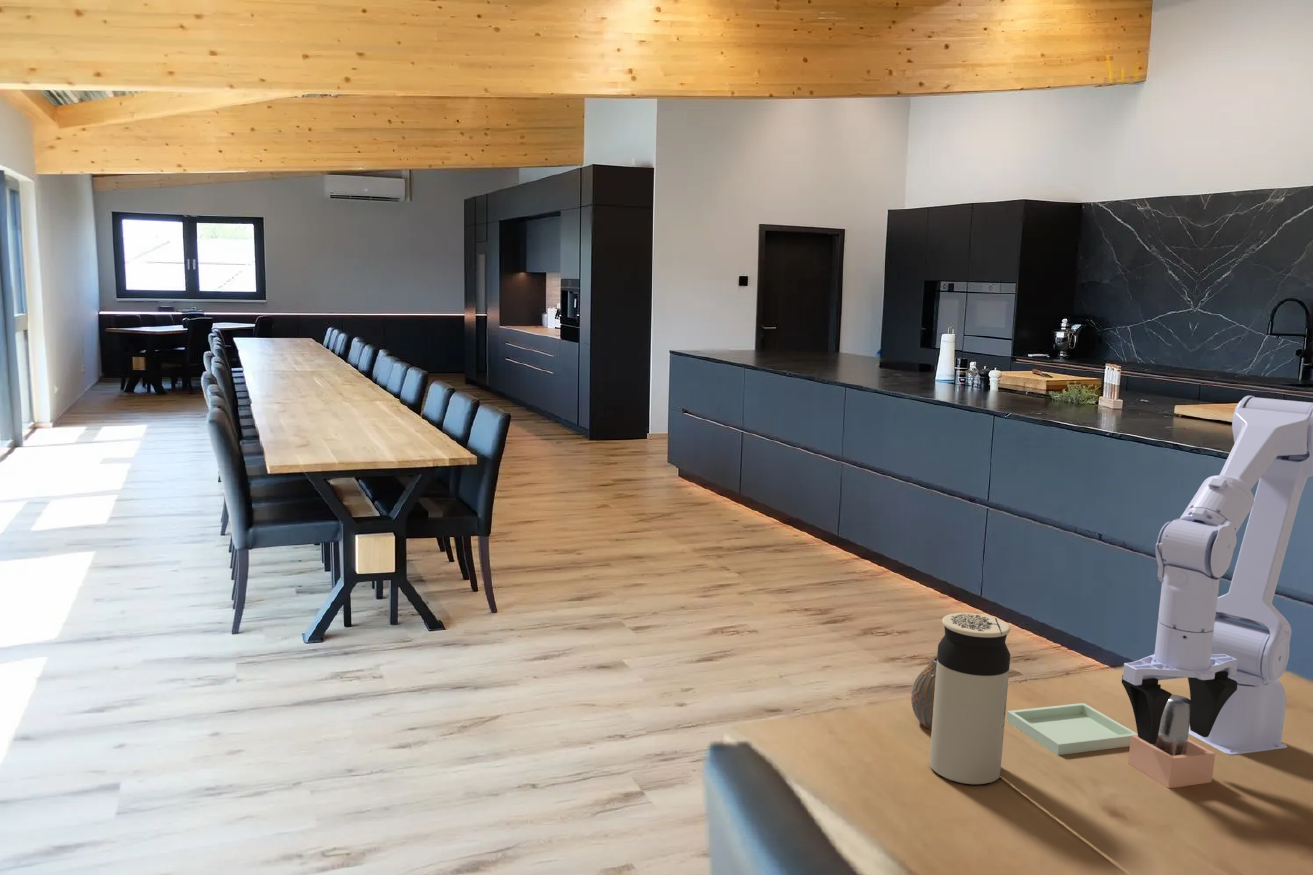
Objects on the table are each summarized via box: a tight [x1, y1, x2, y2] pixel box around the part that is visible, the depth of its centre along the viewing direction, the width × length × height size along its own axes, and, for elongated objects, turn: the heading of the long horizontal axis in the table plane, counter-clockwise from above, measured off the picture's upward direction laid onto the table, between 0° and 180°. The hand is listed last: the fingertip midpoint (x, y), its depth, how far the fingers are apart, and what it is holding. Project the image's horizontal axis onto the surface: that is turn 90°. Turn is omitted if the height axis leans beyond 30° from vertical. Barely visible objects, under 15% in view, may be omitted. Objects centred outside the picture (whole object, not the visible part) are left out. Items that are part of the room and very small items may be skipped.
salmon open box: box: [1127, 734, 1216, 789], centre depth 117 cm, size 6×6×4 cm
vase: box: [911, 656, 937, 730], centre depth 129 cm, size 7×7×9 cm
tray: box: [1005, 702, 1138, 756], centre depth 127 cm, size 12×10×2 cm
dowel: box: [1157, 693, 1192, 756], centre depth 117 cm, size 3×3×9 cm
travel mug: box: [928, 612, 1011, 786], centre depth 116 cm, size 8×8×18 cm
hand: (1173, 736), depth 117 cm, fingers open, 7 cm apart
